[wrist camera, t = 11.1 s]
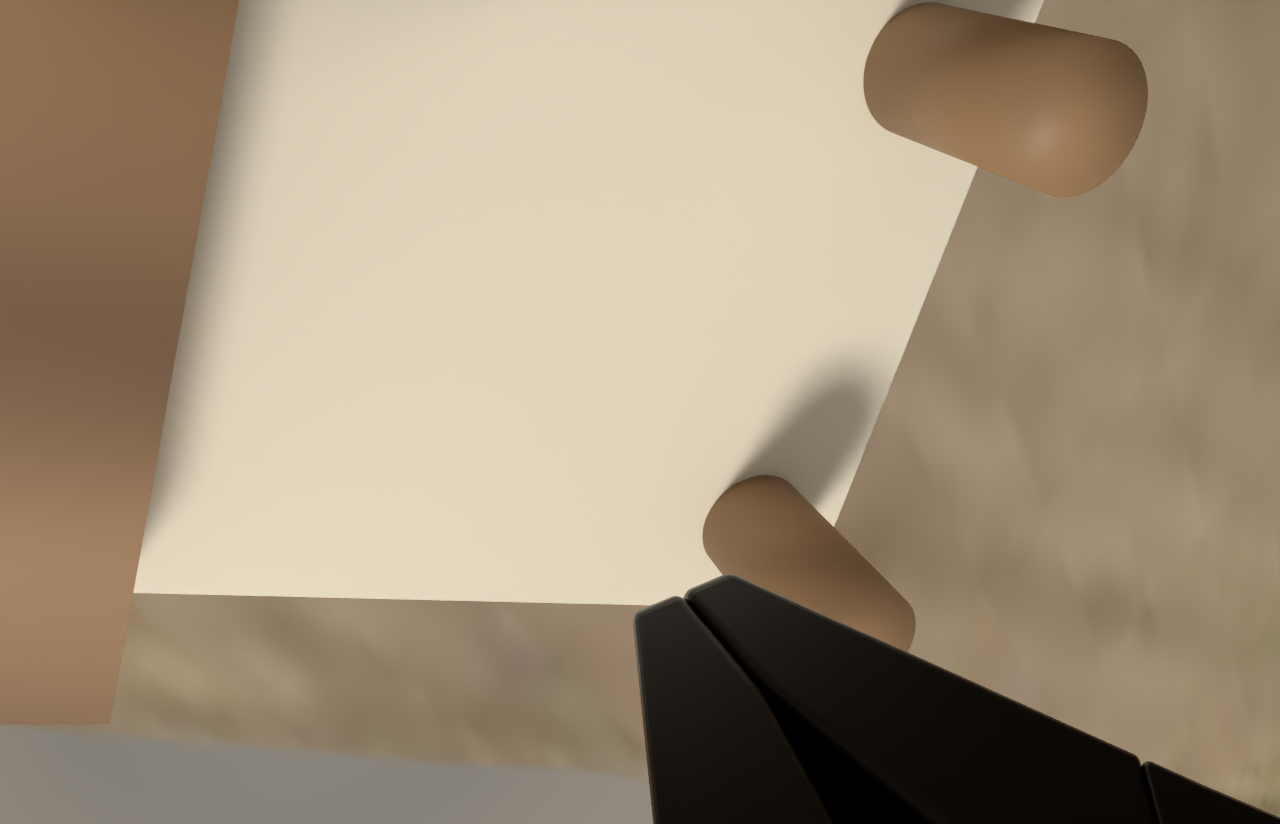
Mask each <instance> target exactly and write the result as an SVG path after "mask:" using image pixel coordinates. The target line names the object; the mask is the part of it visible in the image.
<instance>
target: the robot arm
mask: <svg viewBox="0 0 1280 824" xmlns="http://www.w3.org/2000/svg"><path fill="white" fill-rule="evenodd" d="M633 627H634V637H635V647H636V657H637V667H638V676H639V686H640V696H641V706H642V716H643V726H644V736H645V745H646V755H647V765H648V775H649V785H650V795H651V805H652V814H653V824H1280V818H1279V817H1277V816H1275V815H1272V814H1270V813H1268V812H1265V811H1263V810H1261V809H1258V808H1256V807H1254V806H1251V805H1249V804H1246V803H1244V802H1242V801H1239V800H1237V799H1235V798H1232V797H1230V796H1228V795H1225V794H1223V793H1221V792H1218V791H1216V790H1213V789H1211V788H1209V787H1206V786H1204V785H1202V784H1200V783H1197V782H1195V781H1193V780H1191V779H1188V778H1186V777H1184V776H1182V775H1180V774H1177V773H1175V772H1173V771H1171V770H1168V769H1166V768H1164V767H1162V766H1160V765H1157V764H1155V763H1153V762H1149V761H1148V762H1145V763H1143V764H1142V767H1141V764H1140V760H1139V759H1138V757H1137V756H1136V755H1134V754H1132V753H1130V752H1127V751H1125V750H1123V749H1121V748H1119V747H1116V746H1114V745H1112V744H1110V743H1107V742H1105V741H1103V740H1101V739H1099V738H1096V737H1094V736H1092V735H1090V734H1087V733H1085V732H1083V731H1081V730H1079V729H1076V728H1074V727H1072V726H1070V725H1067V724H1065V723H1063V722H1061V721H1059V720H1056V719H1054V718H1052V717H1050V716H1047V715H1045V714H1043V713H1041V712H1039V711H1036V710H1034V709H1032V708H1030V707H1027V706H1025V705H1023V704H1021V703H1019V702H1016V701H1014V700H1012V699H1010V698H1008V697H1005V696H1003V695H1001V694H999V693H996V692H994V691H992V690H990V689H988V688H985V687H983V686H981V685H979V684H976V683H974V682H972V681H970V680H968V679H965V678H963V677H961V676H959V675H956V674H954V673H952V672H950V671H948V670H945V669H943V668H941V667H939V666H936V665H934V664H932V663H930V662H928V661H925V660H923V659H921V658H919V657H916V656H914V655H912V654H910V653H908V652H905V651H903V650H901V649H899V648H896V647H894V646H892V645H890V644H888V643H885V642H883V641H881V640H879V639H876V638H874V637H872V636H870V635H868V634H865V633H863V632H861V631H859V630H856V629H854V628H852V627H850V626H848V625H845V624H843V623H841V622H839V621H836V620H834V619H832V618H830V617H828V616H825V615H823V614H821V613H819V612H817V611H814V610H812V609H810V608H808V607H805V606H803V605H801V604H799V603H797V602H794V601H792V600H790V599H788V598H785V597H783V596H781V595H779V594H777V593H774V592H772V591H770V590H768V589H765V588H763V587H761V586H759V585H757V584H754V583H752V582H750V581H748V580H745V579H743V578H741V577H739V576H736V575H731V574H725V575H722V576H719V577H717V578H714V579H712V580H710V581H707V582H705V583H703V584H700V585H698V586H696V587H693V588H691V589H689V590H688V591H687V592H686V594H685V595H684V598H682V597H679V596H672V597H670V598H667V599H665V600H663V601H660V602H658V603H656V604H653V605H651V606H648V607H646V608H644V609H641V610H639V611H638V612H636V614H635V615H634V618H633Z"/></svg>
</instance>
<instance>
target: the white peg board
mask: <svg viewBox="0 0 1280 824" xmlns="http://www.w3.org/2000/svg"><path fill="white" fill-rule="evenodd" d="M1043 1H1044V0H239V4H238V10H237V15H236V21H235V26H234V32H233V38H232V43H231V49H230V54H229V60H228V66H227V71H226V77H225V82H224V88H223V94H222V99H221V105H220V110H219V116H218V122H217V127H216V133H215V138H214V144H213V150H212V155H211V161H210V166H209V172H208V177H207V183H206V189H205V194H204V200H203V205H202V211H201V217H200V222H199V228H198V233H197V239H196V245H195V250H194V256H193V261H192V267H191V273H190V278H189V284H188V289H187V295H186V301H185V306H184V312H183V317H182V323H181V329H180V334H179V340H178V345H177V351H176V356H175V362H174V368H173V373H172V379H171V384H170V390H169V396H168V401H167V407H166V412H165V418H164V424H163V429H162V435H161V440H160V446H159V452H158V457H157V463H156V468H155V474H154V480H153V485H152V491H151V496H150V502H149V508H148V513H147V519H146V524H145V530H144V535H143V541H142V547H141V552H140V558H139V563H138V569H137V575H136V580H135V586H134V591H133V593H163V594H204V595H246V596H288V597H329V598H371V599H413V600H454V601H496V602H538V603H579V604H621V605H653V604H656V603H658V602H660V601H663V600H665V599H667V598H670V597H672V596H679V597H682V598H684V595H685V594H686V592H687V591H688V590H689V589H691V588H693V587H696V586H698V585H700V584H703V583H705V582H707V581H710V580H712V579H714V578H717V577H719V576H722V575H725V574H731V575H736V576H739V577H741V578H743V579H745V580H748V581H750V582H752V583H754V584H757V585H759V586H761V587H763V588H765V589H768V590H770V591H772V592H774V593H777V594H779V595H781V596H783V597H785V598H788V599H790V600H792V601H794V602H797V603H799V604H801V605H803V606H805V607H808V608H810V609H812V610H814V611H817V612H819V613H821V614H823V615H825V616H828V617H830V618H832V619H834V620H836V621H839V622H841V623H843V624H845V625H848V626H850V627H852V628H854V629H856V630H859V631H861V632H863V633H865V634H868V635H870V636H872V637H874V638H876V639H879V640H881V641H883V642H885V643H888V644H890V645H892V646H894V647H896V648H899V649H901V650H903V651H905V652H908V650H909V648H910V646H911V643H912V640H913V637H914V633H915V615H914V612H913V609H912V607H911V606H910V604H909V603H908V602H907V601H906V600H905V599H904V598H903V597H902V596H901V595H900V594H899V593H898V592H897V591H896V589H895V588H894V587H893V586H892V585H891V584H890V583H889V582H888V581H887V580H886V579H885V578H884V577H883V576H882V575H881V574H880V573H879V572H878V571H877V570H876V569H875V568H874V567H873V566H872V565H871V564H870V563H869V562H868V561H867V560H866V559H865V558H864V557H863V556H862V555H861V554H860V553H859V552H858V551H857V550H856V549H855V548H854V547H853V546H852V545H851V544H850V543H849V542H848V541H847V540H846V539H845V538H844V537H843V536H842V535H841V534H840V533H839V532H838V531H837V530H836V529H835V528H834V526H835V523H836V521H837V518H838V516H839V513H840V511H841V508H842V506H843V503H844V501H845V498H846V496H847V493H848V491H849V488H850V486H851V483H852V480H853V478H854V475H855V473H856V470H857V468H858V465H859V463H860V460H861V458H862V455H863V453H864V450H865V448H866V445H867V443H868V440H869V438H870V435H871V433H872V430H873V428H874V425H875V423H876V420H877V418H878V415H879V413H880V410H881V408H882V405H883V403H884V400H885V398H886V395H887V393H888V390H889V388H890V385H891V383H892V380H893V378H894V375H895V373H896V370H897V368H898V365H899V363H900V360H901V358H902V355H903V353H904V350H905V348H906V345H907V343H908V340H909V338H910V335H911V333H912V330H913V327H914V325H915V322H916V320H917V317H918V315H919V312H920V310H921V307H922V305H923V302H924V300H925V297H926V295H927V292H928V290H929V287H930V285H931V282H932V280H933V277H934V275H935V272H936V270H937V267H938V265H939V262H940V260H941V257H942V255H943V252H944V250H945V247H946V245H947V242H948V240H949V237H950V235H951V232H952V230H953V227H954V225H955V222H956V220H957V217H958V215H959V212H960V210H961V207H962V205H963V202H964V200H965V197H966V195H967V192H968V190H969V187H970V185H971V182H972V180H973V177H974V174H975V172H976V169H977V167H980V168H982V169H985V170H987V171H990V172H992V173H995V174H997V175H1000V176H1003V177H1005V178H1008V179H1010V180H1013V181H1015V182H1018V183H1020V184H1023V185H1025V186H1028V187H1030V188H1033V189H1035V190H1038V191H1040V192H1043V193H1045V194H1048V195H1051V196H1055V197H1073V196H1077V195H1080V194H1084V193H1086V192H1088V191H1090V190H1092V189H1094V188H1095V187H1097V186H1099V185H1100V184H1101V183H1103V182H1104V181H1105V180H1107V179H1108V178H1109V177H1110V176H1111V175H1112V174H1113V173H1114V172H1115V171H1116V170H1117V169H1118V168H1119V166H1120V165H1121V164H1122V163H1123V161H1124V160H1125V159H1126V157H1127V156H1128V154H1129V153H1130V151H1131V149H1132V148H1133V146H1134V144H1135V142H1136V140H1137V138H1138V136H1139V133H1140V130H1141V128H1142V125H1143V121H1144V118H1145V113H1146V108H1147V99H1148V87H1147V79H1146V75H1145V71H1144V68H1143V66H1142V63H1141V61H1140V60H1139V58H1138V56H1137V55H1136V54H1135V53H1134V52H1133V50H1132V49H1130V48H1129V47H1128V46H1127V45H1125V44H1123V43H1121V42H1119V41H1116V40H1112V39H1108V38H1103V37H1098V36H1093V35H1088V34H1084V33H1079V32H1074V31H1069V30H1065V29H1060V28H1055V27H1050V26H1045V25H1041V24H1036V23H1035V21H1036V19H1037V16H1038V14H1039V11H1040V9H1041V6H1042V4H1043Z"/></svg>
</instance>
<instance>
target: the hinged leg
mask: <svg viewBox="0 0 1280 824" xmlns="http://www.w3.org/2000/svg"><path fill="white" fill-rule="evenodd" d="M238 4H239V0H0V725H5V724H110V720H111V715H112V709H113V703H114V698H115V692H116V687H117V681H118V675H119V670H120V664H121V659H122V653H123V647H124V642H125V636H126V631H127V625H128V619H129V614H130V608H131V603H132V597H133V591H134V586H135V580H136V575H137V569H138V563H139V558H140V552H141V547H142V541H143V535H144V530H145V524H146V519H147V513H148V508H149V502H150V496H151V491H152V485H153V480H154V474H155V468H156V463H157V457H158V452H159V446H160V440H161V435H162V429H163V424H164V418H165V412H166V407H167V401H168V396H169V390H170V384H171V379H172V373H173V368H174V362H175V356H176V351H177V345H178V340H179V334H180V329H181V323H182V317H183V312H184V306H185V301H186V295H187V289H188V284H189V278H190V273H191V267H192V261H193V256H194V250H195V245H196V239H197V233H198V228H199V222H200V217H201V211H202V205H203V200H204V194H205V189H206V183H207V177H208V172H209V166H210V161H211V155H212V150H213V144H214V138H215V133H216V127H217V122H218V116H219V110H220V105H221V99H222V94H223V88H224V82H225V77H226V71H227V66H228V60H229V54H230V49H231V43H232V38H233V32H234V26H235V21H236V15H237V10H238Z"/></svg>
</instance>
